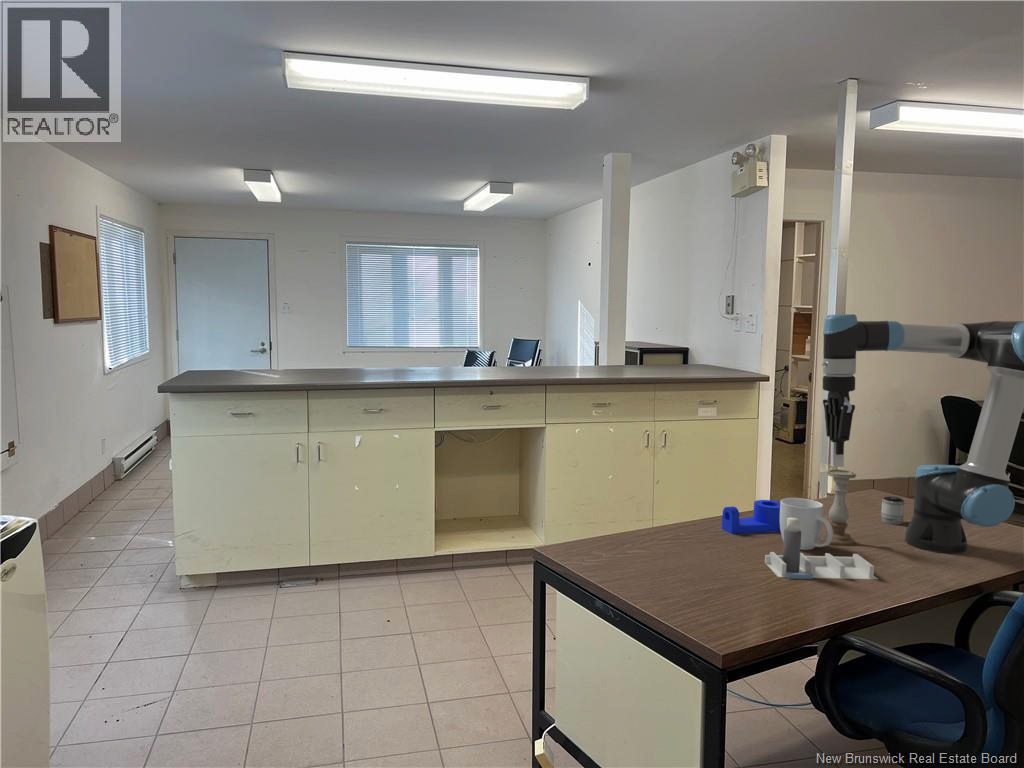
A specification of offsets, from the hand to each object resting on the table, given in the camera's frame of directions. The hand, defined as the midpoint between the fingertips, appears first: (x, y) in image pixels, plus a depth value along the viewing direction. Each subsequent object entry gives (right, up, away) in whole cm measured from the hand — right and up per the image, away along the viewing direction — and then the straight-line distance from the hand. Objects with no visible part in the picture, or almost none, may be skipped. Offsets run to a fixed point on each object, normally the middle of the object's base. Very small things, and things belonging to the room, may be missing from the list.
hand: (837, 466), depth 178 cm
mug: (-3, -25, +13) cm, 29 cm away
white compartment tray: (-7, -26, -5) cm, 28 cm away
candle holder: (+10, -24, +21) cm, 34 cm away
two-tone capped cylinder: (-14, -25, -5) cm, 30 cm away
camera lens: (+37, -23, +41) cm, 60 cm away
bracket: (-10, -23, +32) cm, 41 cm away
